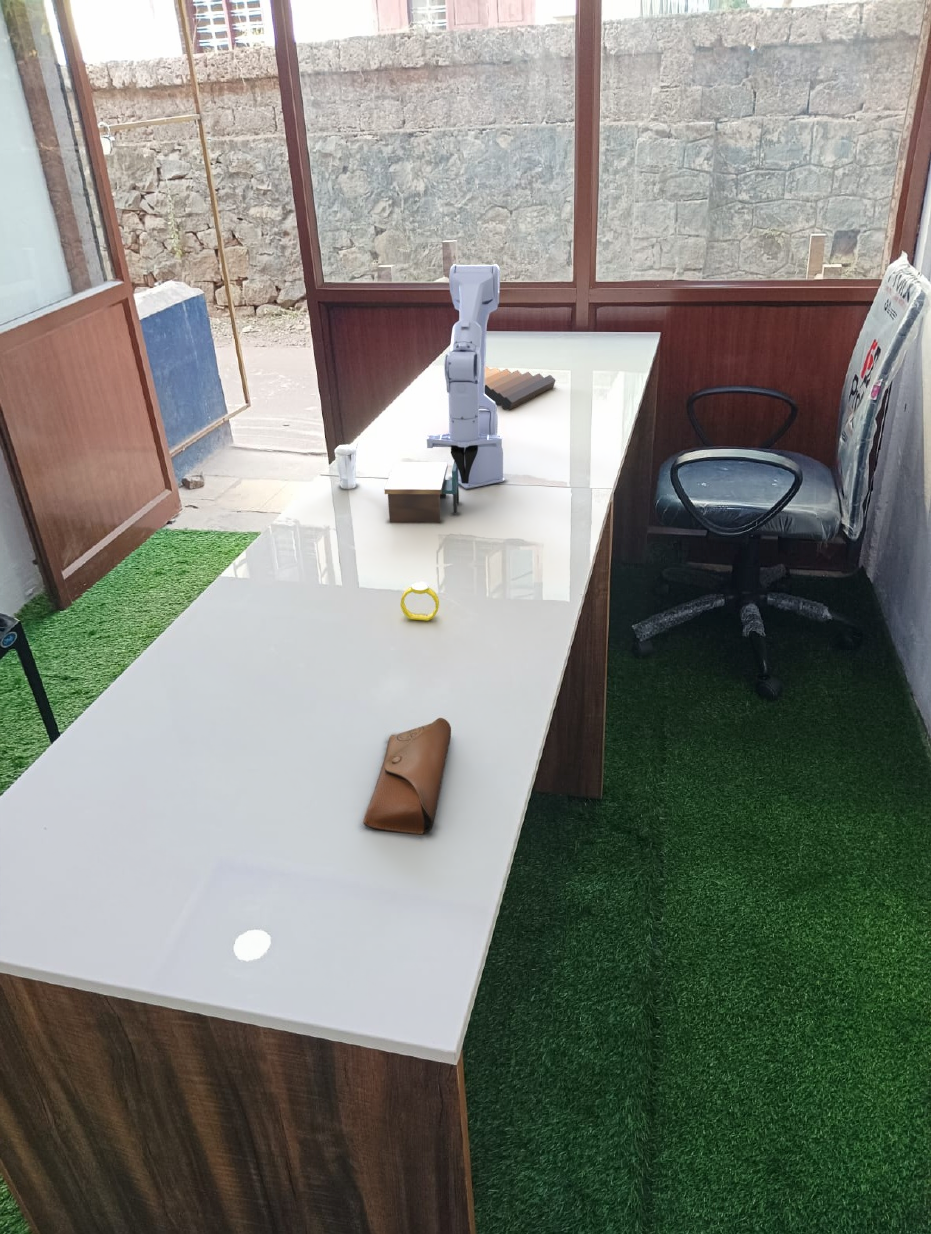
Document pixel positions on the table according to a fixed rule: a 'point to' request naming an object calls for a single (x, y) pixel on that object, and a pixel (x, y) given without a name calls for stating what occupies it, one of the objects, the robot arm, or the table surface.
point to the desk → (416, 492)
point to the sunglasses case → (410, 780)
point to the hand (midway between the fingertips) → (465, 481)
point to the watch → (419, 589)
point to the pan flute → (514, 386)
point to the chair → (452, 487)
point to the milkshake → (346, 465)
